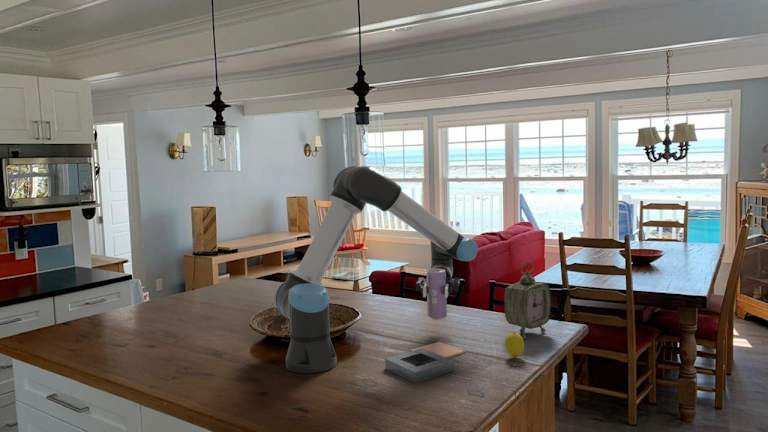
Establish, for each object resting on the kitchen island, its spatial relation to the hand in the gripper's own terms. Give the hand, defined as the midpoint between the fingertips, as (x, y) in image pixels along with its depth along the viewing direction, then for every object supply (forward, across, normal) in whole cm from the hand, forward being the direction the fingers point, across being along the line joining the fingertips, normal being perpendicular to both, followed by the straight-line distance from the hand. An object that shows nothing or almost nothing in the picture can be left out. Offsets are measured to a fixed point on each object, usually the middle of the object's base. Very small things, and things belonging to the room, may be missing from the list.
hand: (435, 292), depth 167 cm
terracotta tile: (-5, 0, -20) cm, 21 cm away
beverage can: (-5, 0, -9) cm, 11 cm away
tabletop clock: (-26, -29, -20) cm, 44 cm away
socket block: (+10, +4, -20) cm, 23 cm away
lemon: (-2, -23, -20) cm, 31 cm away
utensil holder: (-18, +56, -20) cm, 63 cm away
